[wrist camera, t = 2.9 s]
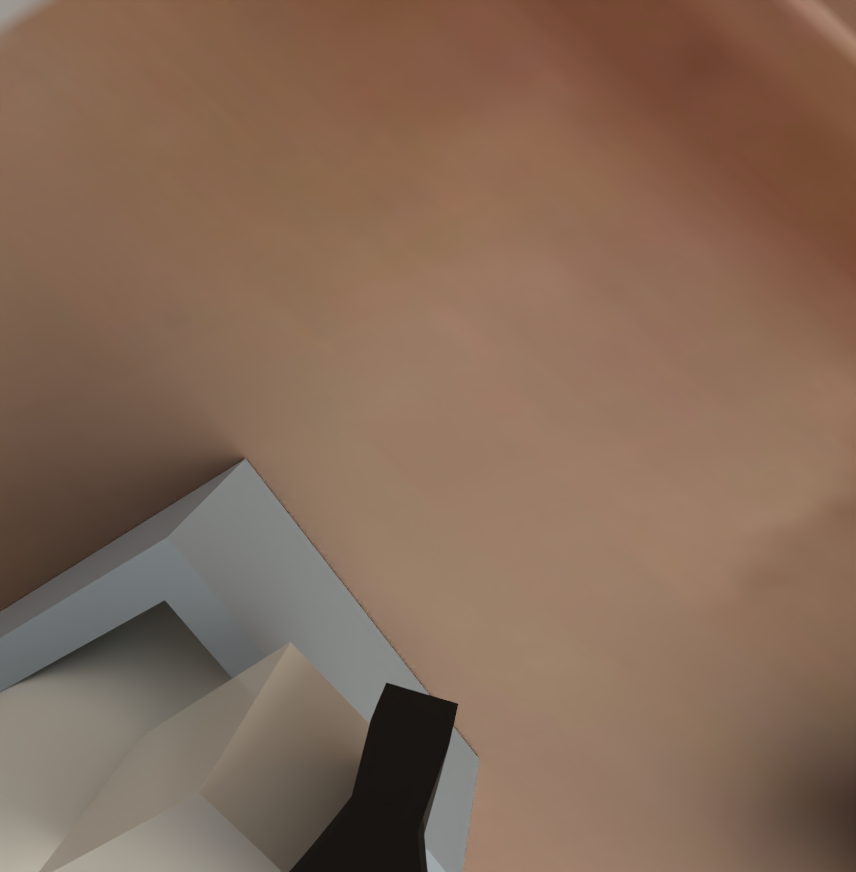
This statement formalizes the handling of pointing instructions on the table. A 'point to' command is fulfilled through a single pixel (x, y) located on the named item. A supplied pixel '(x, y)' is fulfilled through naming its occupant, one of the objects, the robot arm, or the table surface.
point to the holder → (236, 614)
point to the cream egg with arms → (171, 757)
